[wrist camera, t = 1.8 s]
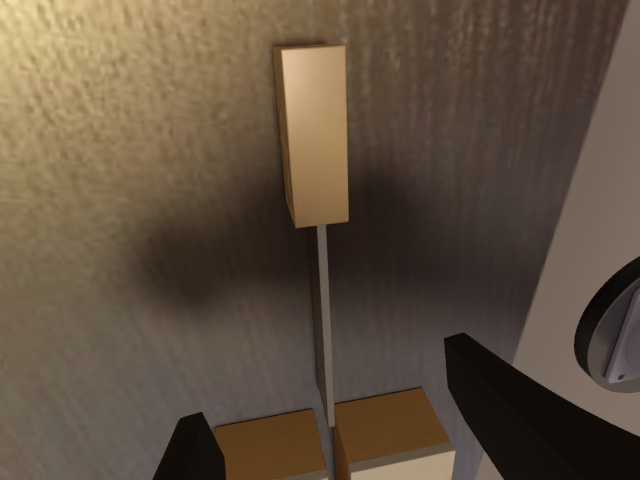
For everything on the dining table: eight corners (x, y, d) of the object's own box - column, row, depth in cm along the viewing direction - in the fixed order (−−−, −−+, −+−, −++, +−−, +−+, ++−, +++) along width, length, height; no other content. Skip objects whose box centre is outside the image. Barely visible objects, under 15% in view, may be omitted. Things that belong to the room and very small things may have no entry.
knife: (271, 46, 16) (280, 48, 14) (326, 43, 17) (345, 45, 14) (303, 389, 25) (312, 434, 22) (339, 382, 25) (352, 426, 22)
